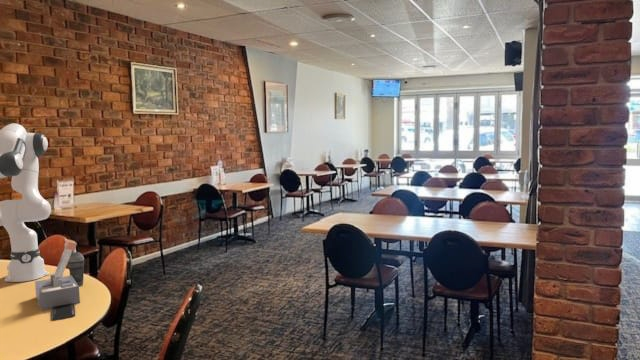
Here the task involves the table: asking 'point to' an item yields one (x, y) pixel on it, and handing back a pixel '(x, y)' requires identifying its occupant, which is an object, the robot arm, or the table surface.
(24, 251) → the robot arm
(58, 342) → the table surface
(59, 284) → the switch box
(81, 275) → the beverage cup
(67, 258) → the lever
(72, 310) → the phone
